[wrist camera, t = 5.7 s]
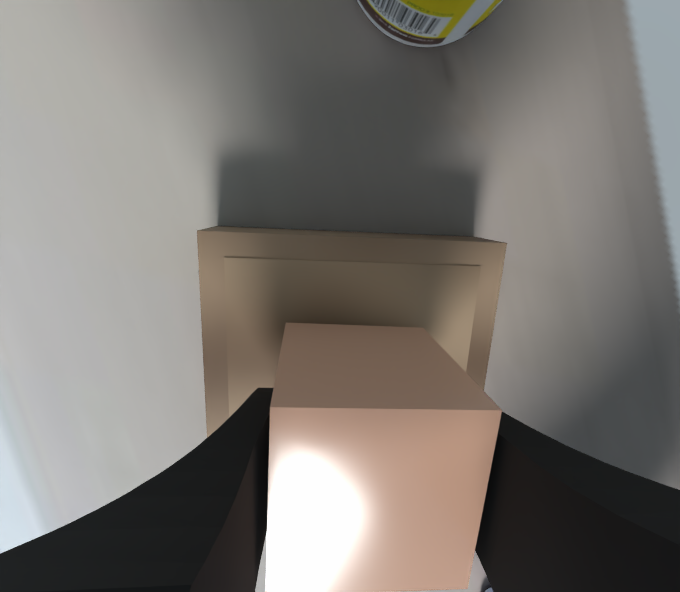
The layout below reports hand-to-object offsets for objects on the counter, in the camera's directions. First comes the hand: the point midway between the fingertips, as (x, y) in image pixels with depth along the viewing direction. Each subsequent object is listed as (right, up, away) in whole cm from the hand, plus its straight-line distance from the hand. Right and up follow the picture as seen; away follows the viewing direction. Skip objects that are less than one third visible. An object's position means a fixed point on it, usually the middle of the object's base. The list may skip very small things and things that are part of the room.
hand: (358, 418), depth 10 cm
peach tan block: (0, 0, +2) cm, 2 cm away
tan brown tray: (0, +1, +5) cm, 5 cm away
